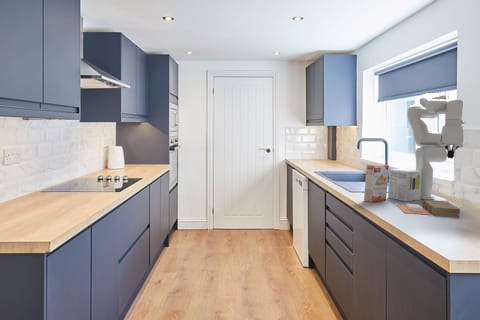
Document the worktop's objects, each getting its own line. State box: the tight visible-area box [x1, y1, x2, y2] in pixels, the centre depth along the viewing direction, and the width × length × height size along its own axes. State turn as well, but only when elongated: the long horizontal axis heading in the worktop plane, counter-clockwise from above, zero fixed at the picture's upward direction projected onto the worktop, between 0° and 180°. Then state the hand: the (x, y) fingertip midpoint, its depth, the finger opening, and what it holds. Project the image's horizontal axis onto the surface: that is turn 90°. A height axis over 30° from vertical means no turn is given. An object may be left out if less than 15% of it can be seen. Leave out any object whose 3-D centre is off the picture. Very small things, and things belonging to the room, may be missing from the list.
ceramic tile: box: [405, 203, 424, 212], centre depth 201 cm, size 9×6×2 cm, turn 169°
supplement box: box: [387, 168, 422, 202], centre depth 233 cm, size 13×13×18 cm
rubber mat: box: [396, 204, 431, 216], centre depth 202 cm, size 20×12×1 cm, turn 168°
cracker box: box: [363, 163, 390, 203], centre depth 224 cm, size 14×6×21 cm, turn 126°
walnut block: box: [421, 199, 461, 218], centre depth 199 cm, size 20×12×4 cm, turn 168°
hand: (450, 158), depth 205 cm, fingers closed
